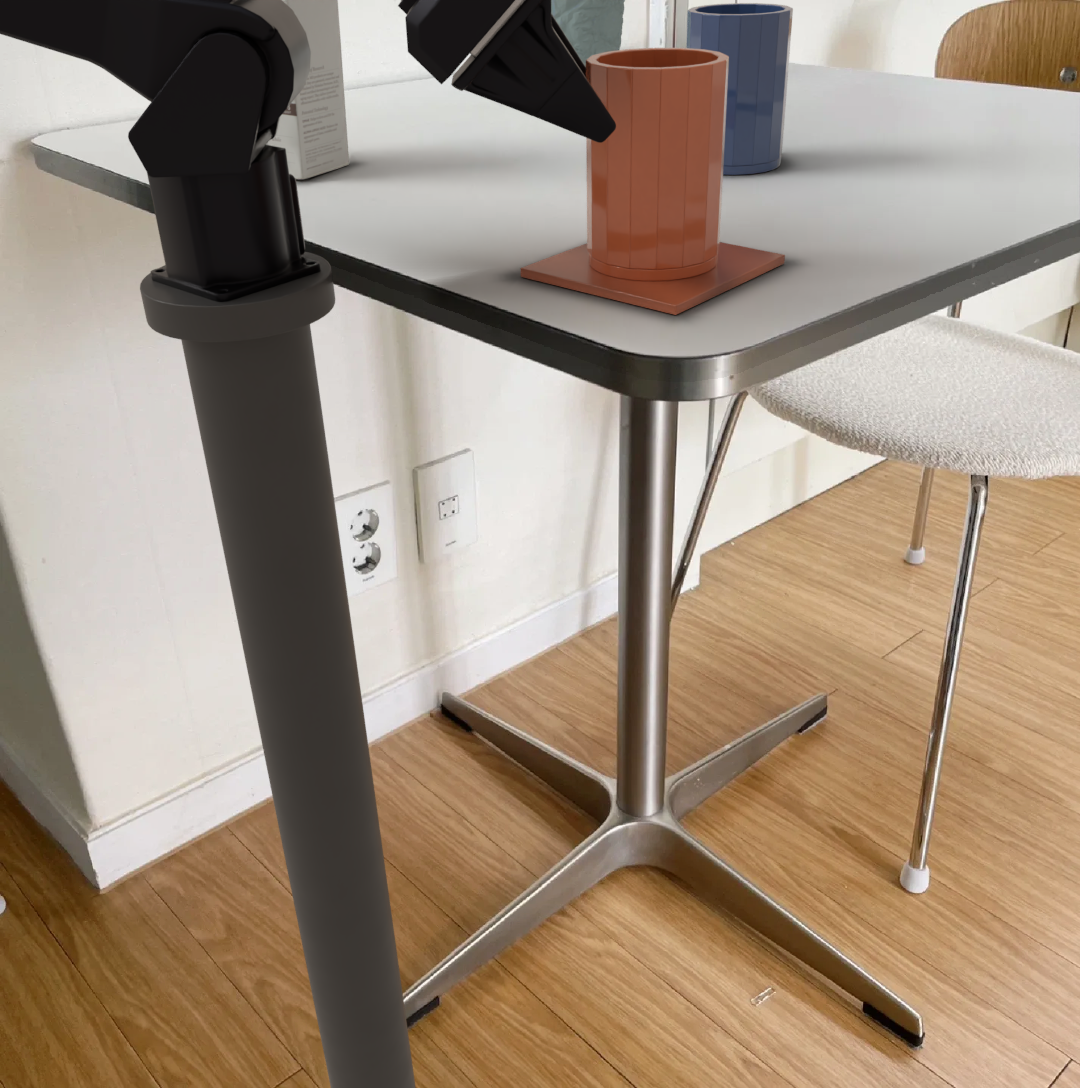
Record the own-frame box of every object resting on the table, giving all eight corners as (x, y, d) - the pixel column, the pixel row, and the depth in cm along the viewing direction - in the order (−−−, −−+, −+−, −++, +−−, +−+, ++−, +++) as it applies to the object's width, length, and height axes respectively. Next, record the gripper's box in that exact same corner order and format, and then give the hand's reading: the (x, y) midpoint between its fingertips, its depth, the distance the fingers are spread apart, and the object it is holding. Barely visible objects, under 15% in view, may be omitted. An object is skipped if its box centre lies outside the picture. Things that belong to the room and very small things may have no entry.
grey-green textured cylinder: (523, 72, 119) (519, -58, 113) (620, 67, 120) (620, -62, 114) (532, 88, 110) (528, -52, 104) (636, 83, 111) (638, -56, 105)
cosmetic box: (216, 172, 84) (177, -57, 76) (269, 155, 88) (237, -64, 81) (308, 182, 80) (277, -58, 73) (359, 164, 85) (334, -64, 77)
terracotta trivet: (675, 315, 55) (676, 305, 55) (520, 277, 61) (519, 267, 60) (784, 263, 61) (785, 254, 61) (634, 233, 67) (634, 224, 67)
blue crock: (746, 179, 77) (756, 17, 72) (664, 166, 81) (668, 11, 76) (798, 160, 82) (811, 6, 76) (717, 149, 85) (725, 1, 80)
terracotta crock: (576, 278, 59) (573, 68, 53) (601, 240, 64) (601, 47, 59) (710, 284, 57) (720, 69, 52) (723, 245, 63) (734, 47, 58)
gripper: (474, -332, 40) (763, 7, 46) (479, -277, 56) (693, -31, 62) (278, -71, 44) (568, 211, 50) (336, -89, 60) (550, 125, 66)
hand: (601, 115), depth 57 cm, fingers open, 9 cm apart
